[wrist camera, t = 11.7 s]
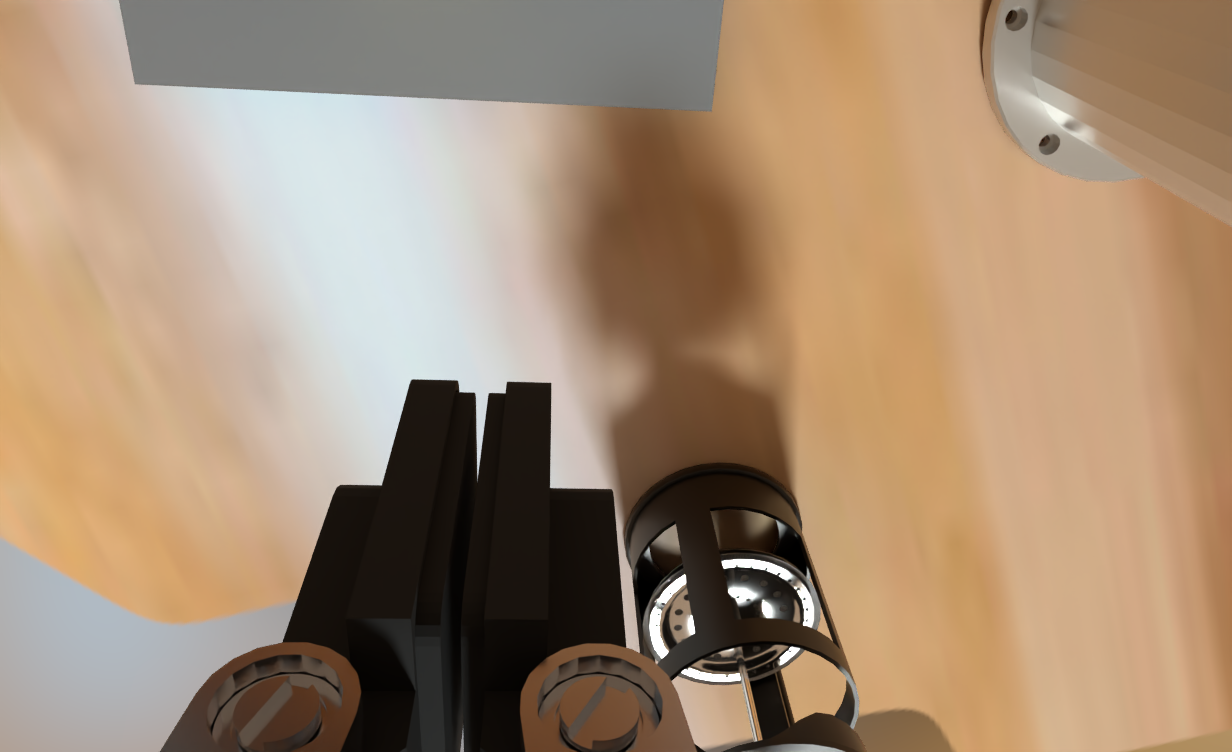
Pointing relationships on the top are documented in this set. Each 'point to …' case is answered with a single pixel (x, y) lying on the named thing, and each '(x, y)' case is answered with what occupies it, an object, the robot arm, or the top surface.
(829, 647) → the french press
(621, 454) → the top surface
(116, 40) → the top surface
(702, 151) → the top surface
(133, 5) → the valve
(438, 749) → the robot arm
